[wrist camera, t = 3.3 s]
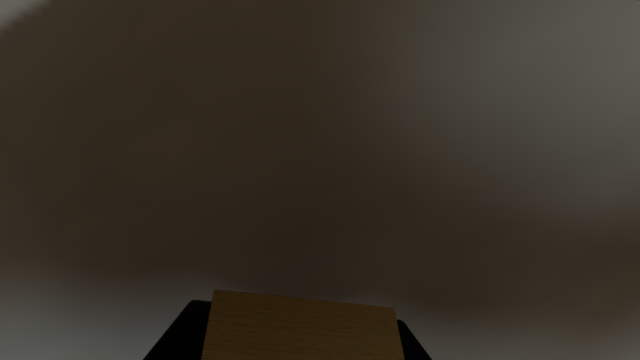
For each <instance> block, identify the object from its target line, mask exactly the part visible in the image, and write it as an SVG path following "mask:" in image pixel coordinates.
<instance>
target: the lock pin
mask: <svg viewBox="0 0 640 360" xmlns="http://www.w3.org/2000/svg"><path fill="white" fill-rule="evenodd" d="M201 360H405V359H404V354H403V349H402V344H401V339H400V334H399V329H398V324H397V319H396V314H395V310H394V308H390V307H380V306H371V305H361V304H351V303H341V302H331V301H321V300H312V299H302V298H292V297H282V296H272V295H262V294H253V293H243V292H233V291H223V290H214V293H213V298H212V304H211V309H210V314H209V320H208V325H207V331H206V336H205V341H204V347H203V352H202V358H201Z"/></svg>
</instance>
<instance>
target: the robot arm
mask: <svg viewBox="0 0 640 360" xmlns="http://www.w3.org/2000/svg"><path fill="white" fill-rule="evenodd" d="M211 304H212V302H211V301H201V300H192V301H190V302H189V303H188V304H187V306H186V307H185V308H184V309H183V311H182V312H181V313H180V314H179V316H178V317H177V318H176V319H175V320H174V322H173V323H172V324H171V325H170V327H169V328H168V329H167V330H166V332H165V333H164V334H163V335H162V337H161V338H160V339H159V340H158V342H157V343H156V344H155V345H154V346H153V348H152V349H151V350H150V351H149V353H148V354H147V355H146V356H145V358H144V359H143V360H201V358H202V352H203V347H204V341H205V336H206V331H207V325H208V320H209V314H210V309H211ZM397 324H398V329H399V334H400V339H401V344H402V349H403V354H404V359H405V360H432V359H431V358H430V356H429V355H428V354H427V352H426V351H425V350H424V348H423V347H422V346H421V344H420V343H419V342H418V340H417V339H416V338H415V336H414V335H413V334H412V332H411V331H410V330H409V328H408V327H407V325H406V324H405V323H404V322H403V321H402V320H398V319H397Z"/></svg>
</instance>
